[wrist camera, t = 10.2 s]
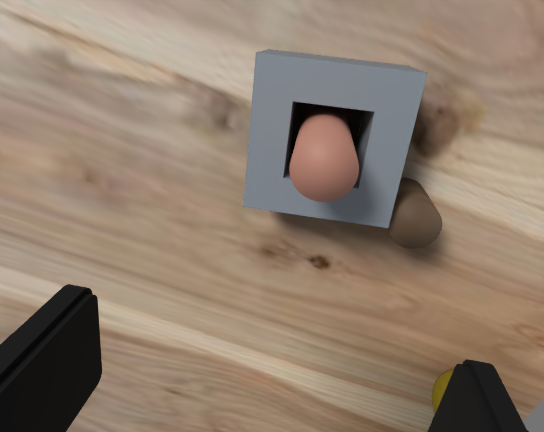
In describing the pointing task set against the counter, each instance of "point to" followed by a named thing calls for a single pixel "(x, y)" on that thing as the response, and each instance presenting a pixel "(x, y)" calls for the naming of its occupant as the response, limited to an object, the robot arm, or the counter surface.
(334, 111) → the long pin
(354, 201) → the hole block
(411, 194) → the short pin
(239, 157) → the counter surface
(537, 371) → the counter surface
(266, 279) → the counter surface
